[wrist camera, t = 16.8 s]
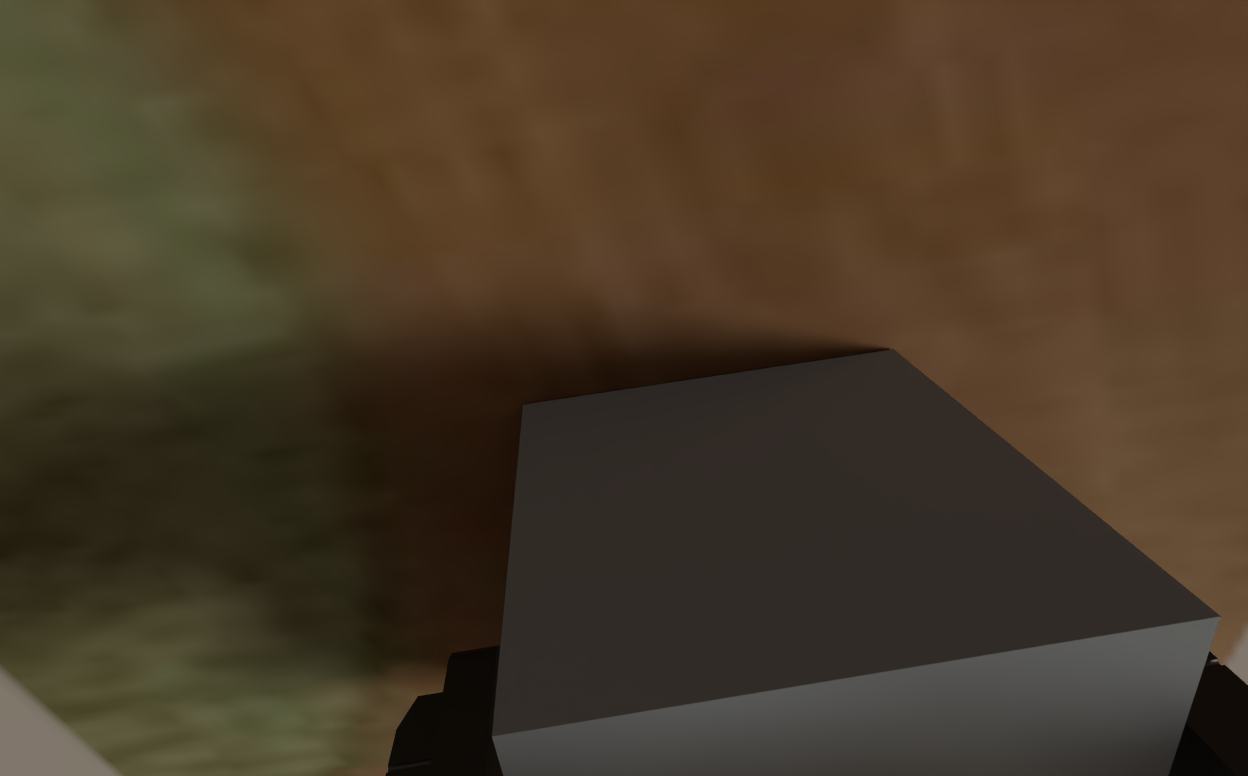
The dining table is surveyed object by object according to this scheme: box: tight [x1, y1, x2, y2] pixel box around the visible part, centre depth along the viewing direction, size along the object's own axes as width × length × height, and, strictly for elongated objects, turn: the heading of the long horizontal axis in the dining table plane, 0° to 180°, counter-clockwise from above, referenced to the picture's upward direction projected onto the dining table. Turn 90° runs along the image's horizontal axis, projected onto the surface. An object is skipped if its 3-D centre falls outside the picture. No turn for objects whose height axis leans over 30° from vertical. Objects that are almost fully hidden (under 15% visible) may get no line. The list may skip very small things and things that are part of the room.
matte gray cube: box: [492, 349, 1221, 776], centre depth 10 cm, size 7×7×7 cm
